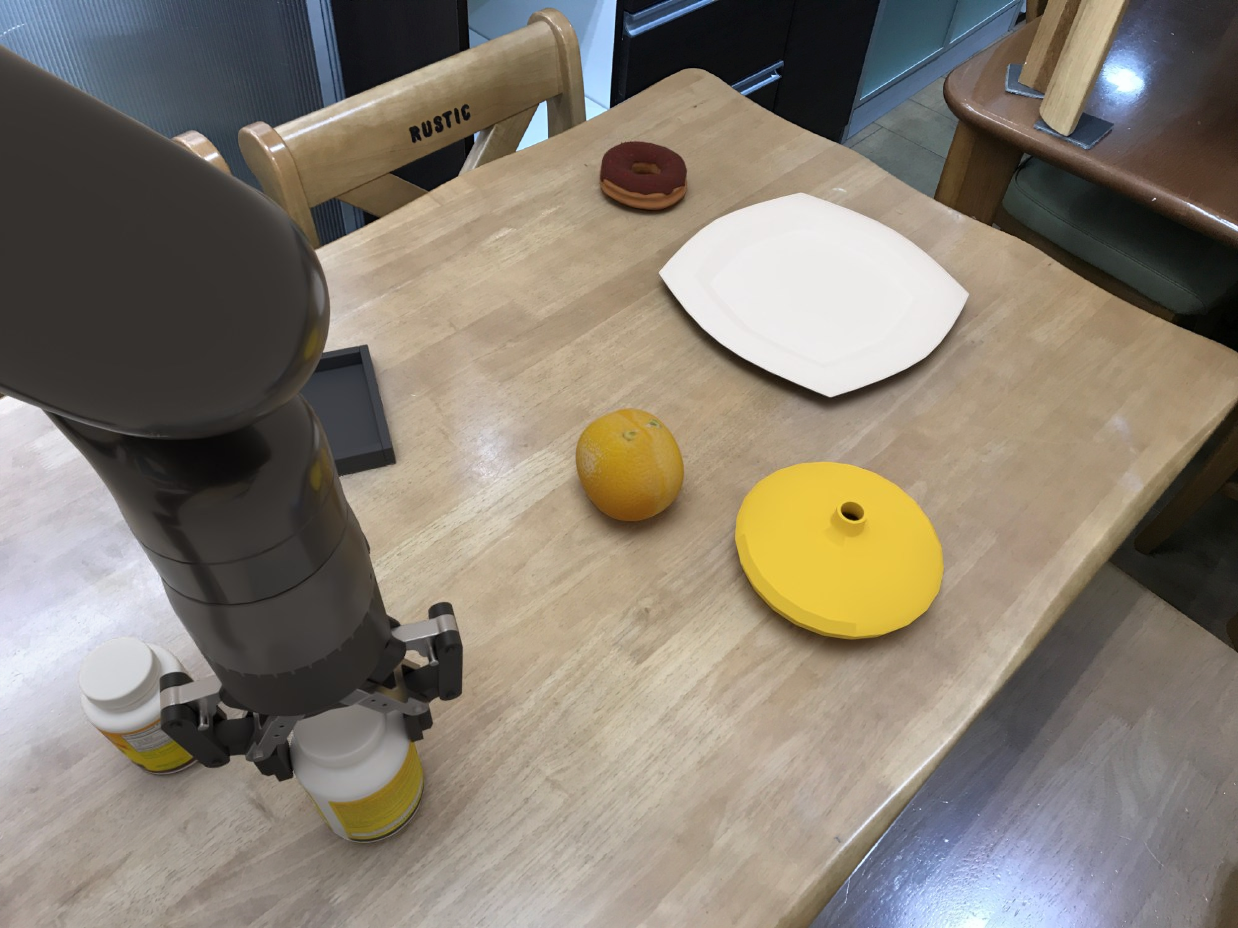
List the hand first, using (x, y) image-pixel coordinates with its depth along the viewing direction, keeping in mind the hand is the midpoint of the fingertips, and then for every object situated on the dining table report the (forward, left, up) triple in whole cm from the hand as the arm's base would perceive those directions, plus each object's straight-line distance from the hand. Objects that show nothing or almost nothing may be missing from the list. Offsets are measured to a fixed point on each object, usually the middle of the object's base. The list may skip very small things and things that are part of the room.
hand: (351, 743), depth 49 cm
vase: (+36, +7, -9) cm, 38 cm away
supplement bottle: (-12, +8, -9) cm, 17 cm away
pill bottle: (0, 0, -8) cm, 8 cm away
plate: (+49, +36, -9) cm, 62 cm away
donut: (+39, +58, -9) cm, 71 cm away
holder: (-2, +33, -9) cm, 34 cm away
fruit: (+23, +18, -9) cm, 31 cm away
